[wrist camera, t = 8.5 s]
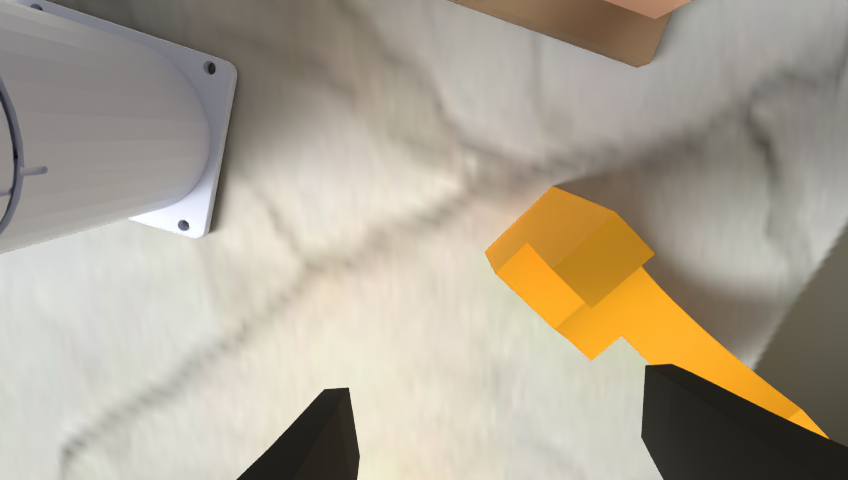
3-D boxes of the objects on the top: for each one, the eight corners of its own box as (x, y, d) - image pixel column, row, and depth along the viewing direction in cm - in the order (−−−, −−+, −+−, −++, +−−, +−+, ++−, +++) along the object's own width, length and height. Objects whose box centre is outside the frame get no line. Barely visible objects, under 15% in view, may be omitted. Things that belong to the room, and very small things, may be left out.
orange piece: (483, 250, 19) (511, 306, 13) (551, 185, 18) (615, 211, 12) (640, 400, 21) (729, 511, 15) (707, 347, 20) (831, 441, 14)
